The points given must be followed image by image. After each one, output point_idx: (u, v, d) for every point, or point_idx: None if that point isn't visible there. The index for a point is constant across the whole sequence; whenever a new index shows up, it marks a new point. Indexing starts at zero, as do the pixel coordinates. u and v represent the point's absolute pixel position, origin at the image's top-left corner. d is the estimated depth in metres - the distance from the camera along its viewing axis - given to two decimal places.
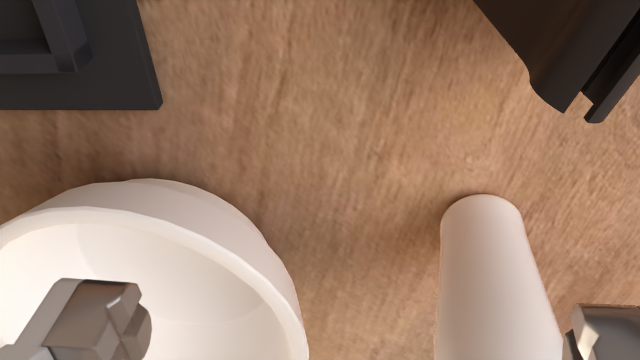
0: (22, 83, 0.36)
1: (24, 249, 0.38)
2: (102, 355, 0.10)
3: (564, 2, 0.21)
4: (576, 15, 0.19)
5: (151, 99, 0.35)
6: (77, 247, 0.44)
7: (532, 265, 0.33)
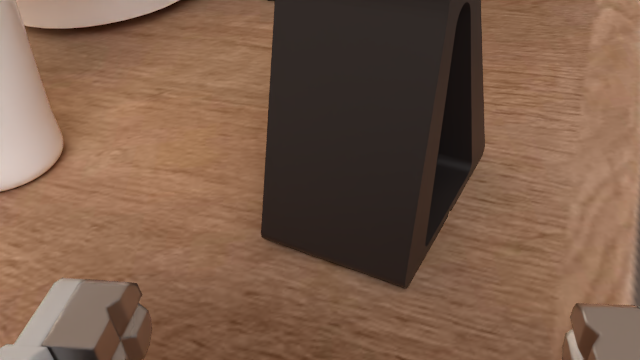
0: None
1: None
2: (102, 355, 0.10)
3: None
4: None
5: None
6: None
7: None
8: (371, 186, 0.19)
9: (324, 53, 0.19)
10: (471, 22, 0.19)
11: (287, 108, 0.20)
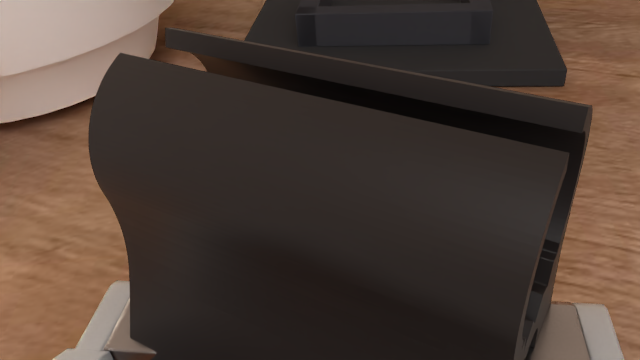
0: (286, 13, 0.39)
1: None
2: None
3: None
4: None
5: None
6: None
7: None
8: None
9: None
10: (536, 341, 0.09)
11: None
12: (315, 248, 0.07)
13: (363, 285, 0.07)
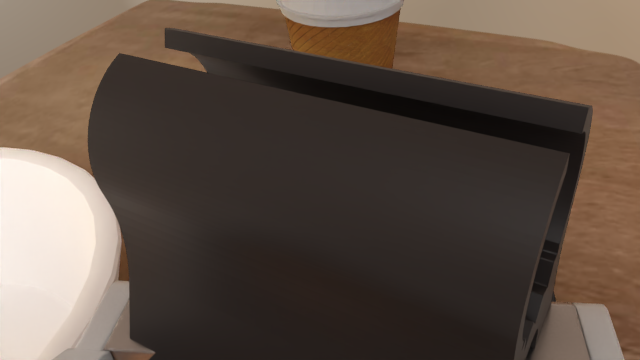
0: None
1: (67, 228, 0.31)
2: None
3: None
4: None
5: None
6: (26, 284, 0.35)
7: None
8: None
9: None
10: (536, 342, 0.09)
11: None
12: (314, 249, 0.07)
13: (363, 286, 0.07)
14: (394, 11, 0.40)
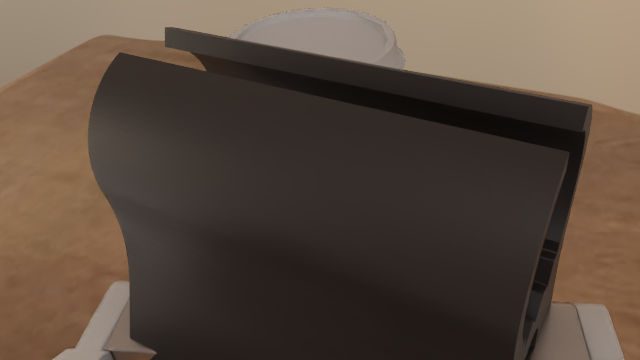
0: None
1: None
2: None
3: None
4: None
5: None
6: None
7: None
8: None
9: None
10: (536, 341, 0.09)
11: None
12: (314, 247, 0.07)
13: (363, 285, 0.07)
14: None
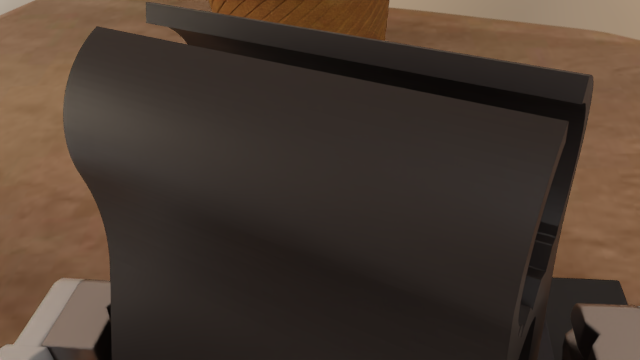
0: None
1: None
2: (102, 355, 0.10)
3: None
4: None
5: None
6: None
7: None
8: None
9: None
10: (534, 331, 0.09)
11: None
12: (298, 228, 0.06)
13: (349, 268, 0.06)
14: None
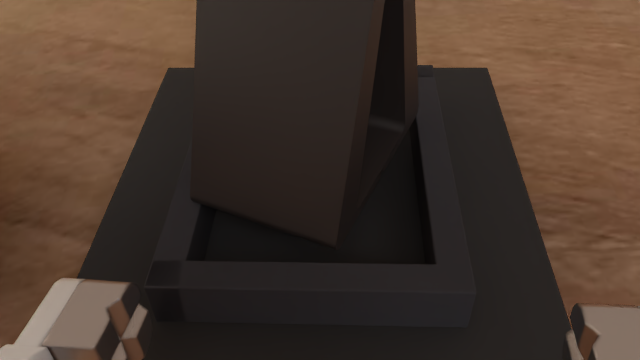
0: (148, 214, 0.25)
1: None
2: (102, 355, 0.10)
3: None
4: None
5: None
6: None
7: None
8: (301, 148, 0.19)
9: (251, 8, 0.18)
10: None
11: (214, 66, 0.19)
12: None
13: None
14: None
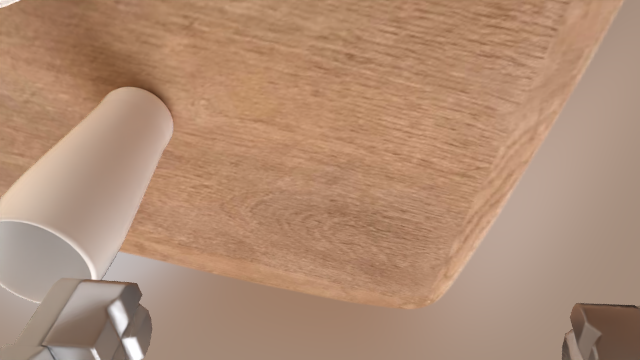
0: None
1: None
2: (102, 355, 0.10)
3: None
4: None
5: None
6: None
7: None
8: None
9: None
10: None
11: None
12: None
13: None
14: None
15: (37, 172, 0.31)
